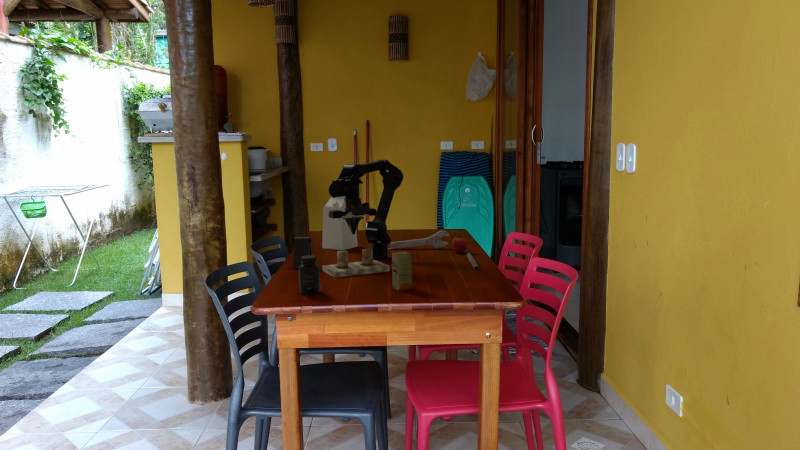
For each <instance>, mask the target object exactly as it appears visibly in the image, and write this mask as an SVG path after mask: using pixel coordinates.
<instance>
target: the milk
mask: <svg viewBox="0 0 800 450" xmlns="http://www.w3.org/2000/svg"><path fill="white" fill-rule="evenodd" d="M344 198H345V197H335V198H333V197H331V196H330V198H329V199H328V201H327V202H326V204H325V205H324V207H323V209H322V234H321V235H322V236H321V237H322V239H321V240H322V243H321V247H322V249H326V250H327V249H328V250H336V251H347V250H348V249H349V250H350V249H353V248H356V247H358V234H357V233H358V232H357V231H356V232H355V234H352V233H351V231H350V228H349V226H348V224H347V222H346V220H345V219H343V218H330V217H329V211H330V210H341V211H345V208H346V205H345V201H344ZM352 216H354V215H352ZM342 217H344V216H342Z"/></svg>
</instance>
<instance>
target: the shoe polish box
mask: <svg viewBox="0 0 800 450" xmlns="http://www.w3.org/2000/svg"><path fill="white" fill-rule="evenodd" d="M412 255H413V254H412V253H410V252H408V251H407V250H406V251H395V252H391V266H392V267H391V269H392V272H391V273H392V279H391V280H392V288H393V289H395V290H396V291H405V290H406V291H407V290H409V291H410V290H413V270H412V269H413V265H412V263H413V262H412V260H413V259H412V258H413V257H412Z"/></svg>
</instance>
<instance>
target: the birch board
mask: <svg viewBox="0 0 800 450" xmlns="http://www.w3.org/2000/svg"><path fill="white" fill-rule="evenodd" d="M337 266H338V263H334V264H326V265H321V267H322V268H321V270H322V272H324V273H325V274H328V275H330V276H331V277H332V278H333V277H334V278H344V277H345V278H346V277H352V276H361V275H370V274H377V273H386V272H390V265H387V264H386V263H383V262H380V261H378V260H377V259H373V266H362V260H361V261H354V262H352V261H351V262H348V268H346V269H338V267H337Z"/></svg>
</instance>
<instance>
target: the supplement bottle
mask: <svg viewBox="0 0 800 450" xmlns="http://www.w3.org/2000/svg"><path fill="white" fill-rule="evenodd" d="M301 263H302V265H300V266H299V269H298V280H299V281H298V282H299V283H298V284H299V285H298V286H299V293H300V294H302V295H309V296H310V295H316V294H319V293H320V292H321V269H320V265H319V264H318V263H317V256H316V255H313V256H303V257H301Z"/></svg>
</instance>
